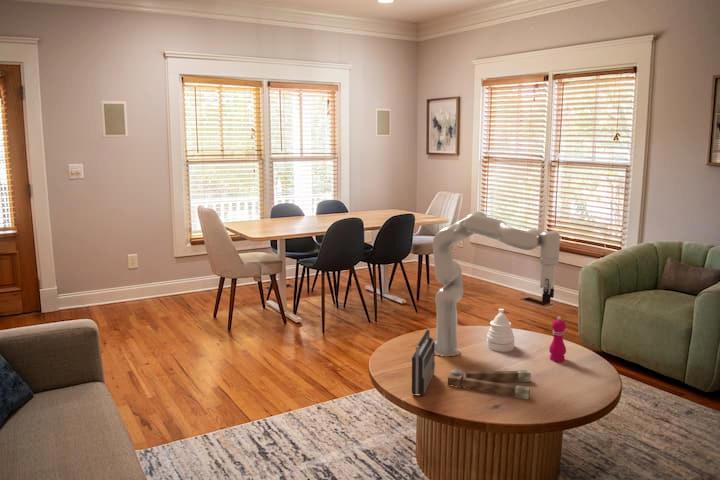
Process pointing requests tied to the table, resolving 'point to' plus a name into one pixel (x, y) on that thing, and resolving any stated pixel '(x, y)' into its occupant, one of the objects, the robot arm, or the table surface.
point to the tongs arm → (500, 375)
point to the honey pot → (500, 334)
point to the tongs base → (488, 385)
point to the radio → (423, 364)
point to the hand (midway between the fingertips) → (547, 300)
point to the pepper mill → (558, 341)
